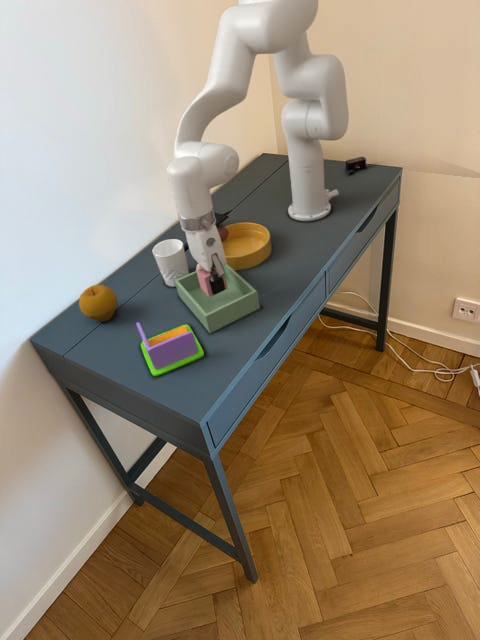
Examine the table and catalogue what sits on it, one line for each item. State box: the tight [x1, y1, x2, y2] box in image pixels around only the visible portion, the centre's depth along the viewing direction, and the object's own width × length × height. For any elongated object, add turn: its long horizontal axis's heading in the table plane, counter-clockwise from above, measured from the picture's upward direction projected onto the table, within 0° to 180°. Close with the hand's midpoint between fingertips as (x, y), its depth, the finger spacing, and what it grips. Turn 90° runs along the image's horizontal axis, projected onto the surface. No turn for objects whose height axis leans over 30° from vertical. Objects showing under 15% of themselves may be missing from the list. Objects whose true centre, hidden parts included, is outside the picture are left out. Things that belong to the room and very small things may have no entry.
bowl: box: [221, 222, 273, 271], centre depth 125 cm, size 17×17×4 cm
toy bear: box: [195, 263, 228, 297], centre depth 106 cm, size 5×5×10 cm
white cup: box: [152, 238, 190, 288], centre depth 119 cm, size 8×8×10 cm
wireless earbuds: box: [345, 156, 367, 175], centre depth 152 cm, size 5×7×3 cm, turn 102°
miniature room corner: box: [135, 321, 205, 377], centre depth 99 cm, size 12×12×7 cm
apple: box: [78, 284, 118, 322], centre depth 112 cm, size 9×9×9 cm
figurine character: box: [214, 212, 230, 241], centre depth 133 cm, size 7×8×15 cm
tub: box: [175, 263, 261, 334], centre depth 110 cm, size 13×17×5 cm
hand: (213, 286), depth 108 cm, fingers closed on toy bear, 4 cm apart
